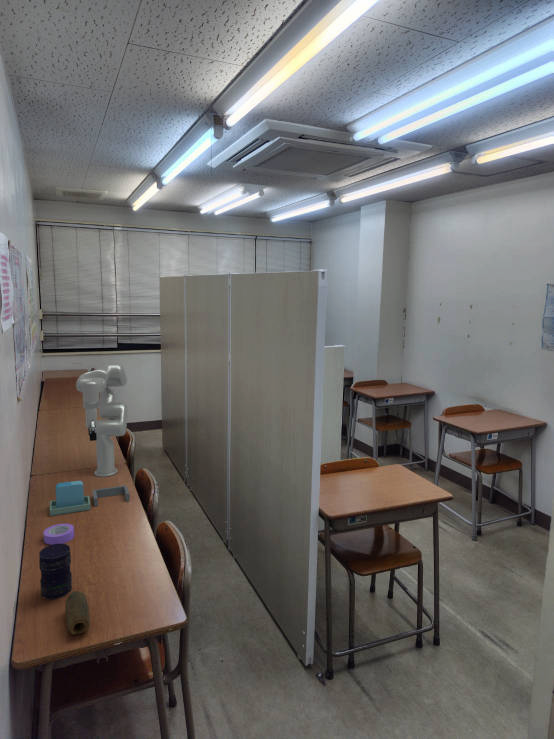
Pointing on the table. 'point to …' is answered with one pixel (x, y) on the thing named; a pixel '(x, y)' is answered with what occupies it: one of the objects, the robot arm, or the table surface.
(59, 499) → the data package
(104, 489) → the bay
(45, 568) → the storage jar
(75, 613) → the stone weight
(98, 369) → the robot arm
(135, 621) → the table surface
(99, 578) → the table surface
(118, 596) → the table surface
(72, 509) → the tray
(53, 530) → the masking tape
